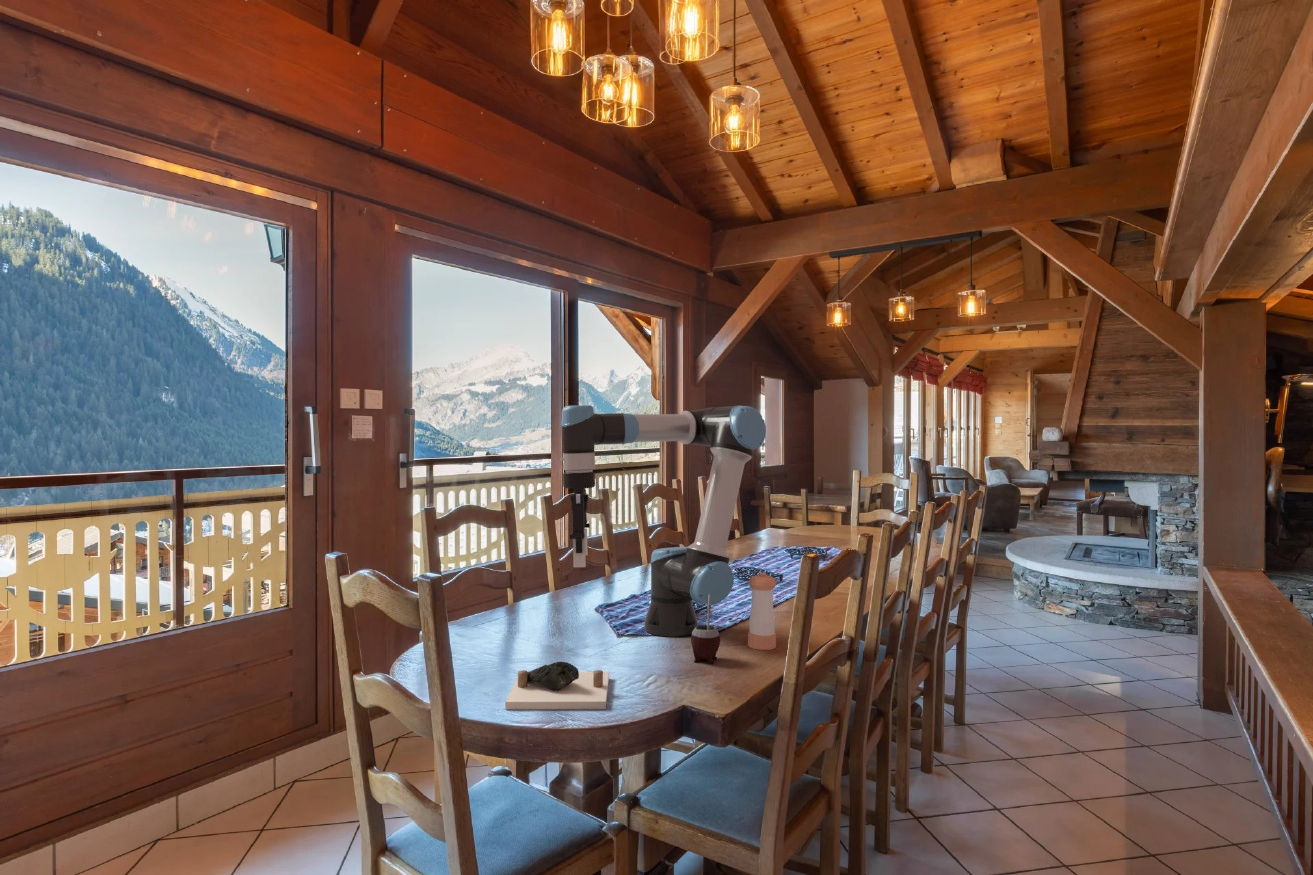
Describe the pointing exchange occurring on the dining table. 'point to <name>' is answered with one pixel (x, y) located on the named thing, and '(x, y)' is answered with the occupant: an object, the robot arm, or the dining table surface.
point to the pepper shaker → (762, 613)
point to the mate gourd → (705, 641)
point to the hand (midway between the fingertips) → (580, 560)
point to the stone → (554, 675)
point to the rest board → (560, 693)
